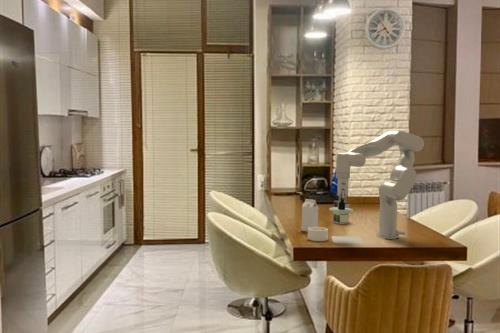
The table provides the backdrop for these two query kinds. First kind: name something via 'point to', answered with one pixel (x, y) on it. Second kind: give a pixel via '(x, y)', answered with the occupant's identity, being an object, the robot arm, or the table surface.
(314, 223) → the milk carton
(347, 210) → the lid
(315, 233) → the bowl
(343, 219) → the coffee can
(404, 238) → the table surface
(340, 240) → the mat
